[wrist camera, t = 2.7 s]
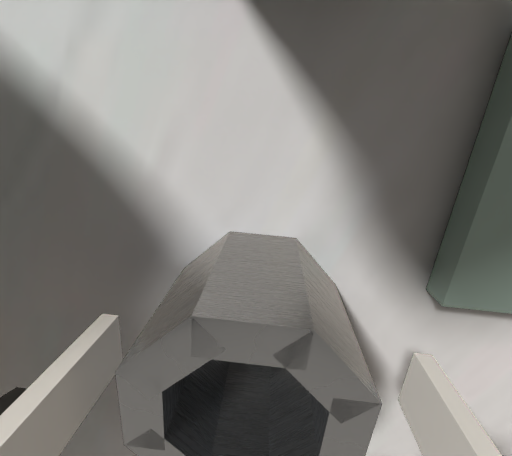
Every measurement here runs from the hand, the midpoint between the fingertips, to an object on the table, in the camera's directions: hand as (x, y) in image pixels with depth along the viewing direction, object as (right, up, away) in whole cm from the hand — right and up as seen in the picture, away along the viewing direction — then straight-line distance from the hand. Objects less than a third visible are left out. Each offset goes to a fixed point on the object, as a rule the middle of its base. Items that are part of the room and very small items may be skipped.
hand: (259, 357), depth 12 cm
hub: (0, +2, +3) cm, 4 cm away
